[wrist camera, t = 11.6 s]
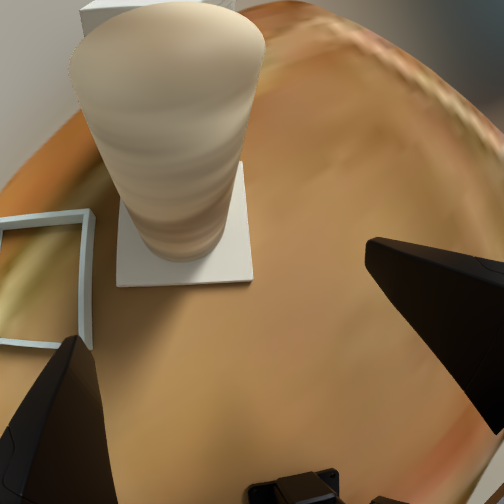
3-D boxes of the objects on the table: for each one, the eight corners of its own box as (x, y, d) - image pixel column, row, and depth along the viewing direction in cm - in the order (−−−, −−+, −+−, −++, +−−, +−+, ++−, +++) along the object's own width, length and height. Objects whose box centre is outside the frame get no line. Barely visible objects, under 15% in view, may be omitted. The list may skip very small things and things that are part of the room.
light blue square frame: (93, 350, 17) (85, 350, 16) (-8, 342, 16) (-19, 341, 14) (95, 217, 20) (89, 208, 19) (0, 225, 18) (-9, 219, 17)
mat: (252, 281, 20) (253, 279, 20) (118, 287, 19) (116, 285, 18) (241, 165, 23) (242, 161, 22) (125, 170, 21) (123, 166, 21)
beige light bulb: (201, 278, 19) (203, 138, 6) (123, 238, 19) (32, 82, 6) (240, 202, 21) (291, 27, 8) (166, 169, 21) (147, -6, 8)
